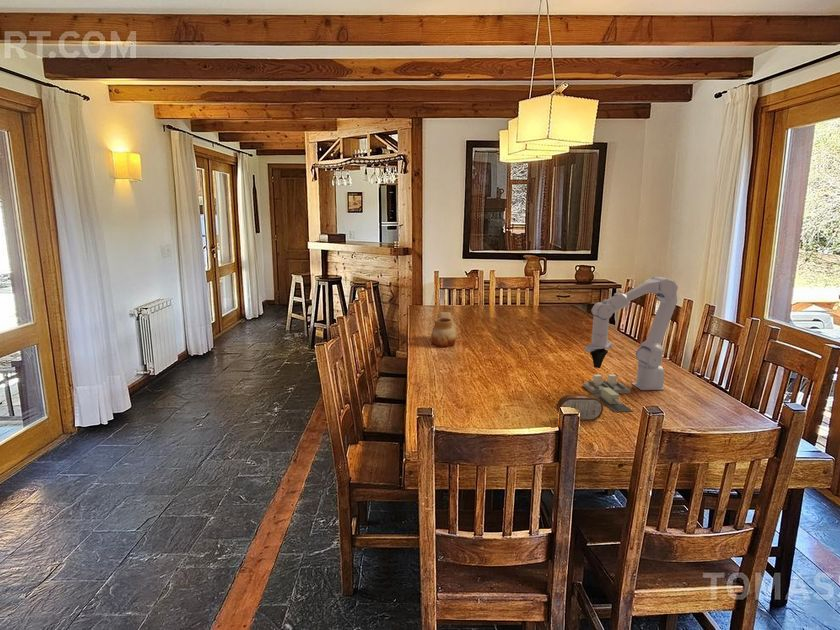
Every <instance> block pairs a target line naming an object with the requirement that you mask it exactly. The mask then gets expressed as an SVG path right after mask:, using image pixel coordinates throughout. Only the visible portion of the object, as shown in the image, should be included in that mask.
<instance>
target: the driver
mask: <svg viewBox="0 0 840 630" xmlns="http://www.w3.org/2000/svg"><path fill="white" fill-rule="evenodd" d="M601 397H602V398H603V399H605V400H606V401H607V402H608V403H609V404H619V405H620V406H622V403H623V402H622V401H621V400H619V399H620V393H616V392H615V391H613V390H612V389H611V388H601ZM621 402H622V403H621Z"/></svg>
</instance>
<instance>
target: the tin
mask: <svg viewBox="0 0 840 630" xmlns="http://www.w3.org/2000/svg"><path fill="white" fill-rule="evenodd" d="M560 407H571V408H575V409H578V410H579V412H580V420H579V421H587V422H589V421H590V422H591V421H595V420H597V419H599V418H600V417H601V416H602V414H603V411H604V404H603V403H602V402H601V401H600V400H599V398H598V397H596V396H594V395H593V394H566V395H562V397H561V398H560V399H559V400H558V401H557V403H556V411H557V413H558V412H559V408H560Z"/></svg>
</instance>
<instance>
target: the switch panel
mask: <svg viewBox="0 0 840 630" xmlns="http://www.w3.org/2000/svg"><path fill="white" fill-rule="evenodd" d="M592 381H593V380H588V381H587V382H583V383H582V387H583V388H585V389H586V390H587V391H588V392H589V393H590V394H591V395H593V394H601V388H611V389H612V390H613V391H615V392H616V393H617V394H631V388H629V387H628V386H626V385H625V384H623V383H622V382H620V381H617V380H616V383H617V385H611V384H610V383H608V382H607V380H605V379H602V382H601V383H602V385H596V384H595V383H593V382H592Z"/></svg>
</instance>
